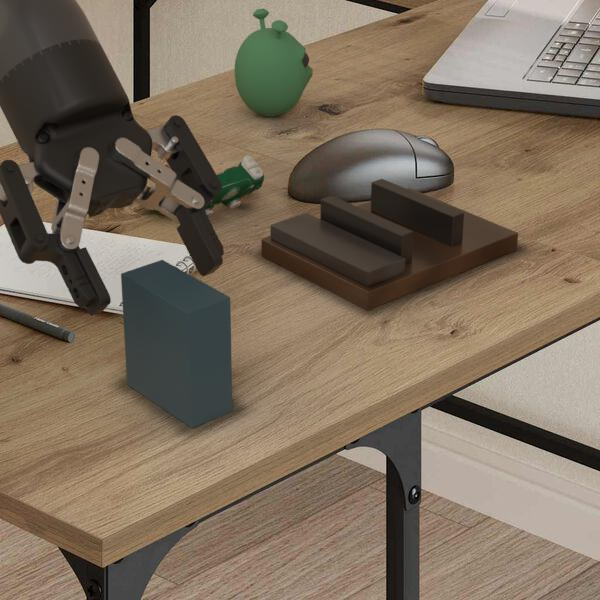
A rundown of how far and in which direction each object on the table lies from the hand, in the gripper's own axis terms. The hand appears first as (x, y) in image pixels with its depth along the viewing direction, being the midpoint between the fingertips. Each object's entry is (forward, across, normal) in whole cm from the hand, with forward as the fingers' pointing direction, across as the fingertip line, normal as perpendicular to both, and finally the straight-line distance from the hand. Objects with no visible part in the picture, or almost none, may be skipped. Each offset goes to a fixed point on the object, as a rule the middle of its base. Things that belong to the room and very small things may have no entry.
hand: (159, 289), depth 88 cm
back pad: (+6, 0, +4) cm, 7 cm away
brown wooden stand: (+1, +25, +9) cm, 27 cm away
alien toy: (-20, +39, +31) cm, 54 cm away
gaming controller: (-10, +20, +20) cm, 30 cm away
